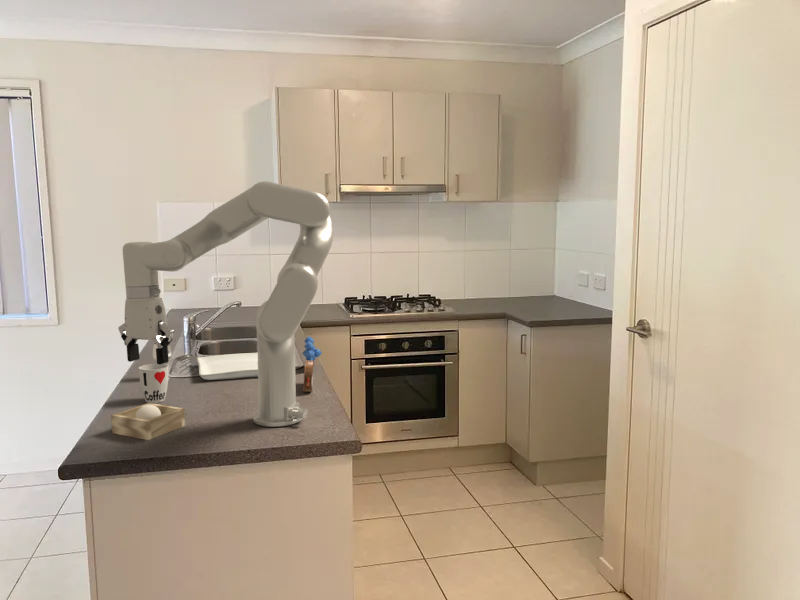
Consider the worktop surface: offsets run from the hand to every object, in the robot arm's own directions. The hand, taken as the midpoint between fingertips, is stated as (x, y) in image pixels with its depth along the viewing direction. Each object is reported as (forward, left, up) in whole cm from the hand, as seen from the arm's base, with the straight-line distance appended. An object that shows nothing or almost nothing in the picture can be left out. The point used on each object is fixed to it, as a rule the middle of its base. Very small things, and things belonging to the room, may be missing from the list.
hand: (148, 361), depth 160 cm
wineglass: (+36, -40, -17) cm, 56 cm away
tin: (-14, -50, -17) cm, 55 cm away
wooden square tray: (0, 0, -17) cm, 17 cm away
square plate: (+21, -60, -18) cm, 66 cm away
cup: (+19, -20, -17) cm, 32 cm away
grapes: (-1, -72, -17) cm, 74 cm away
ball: (0, 0, -14) cm, 14 cm away
